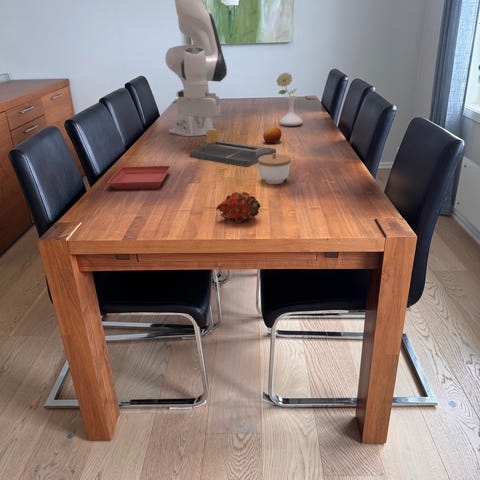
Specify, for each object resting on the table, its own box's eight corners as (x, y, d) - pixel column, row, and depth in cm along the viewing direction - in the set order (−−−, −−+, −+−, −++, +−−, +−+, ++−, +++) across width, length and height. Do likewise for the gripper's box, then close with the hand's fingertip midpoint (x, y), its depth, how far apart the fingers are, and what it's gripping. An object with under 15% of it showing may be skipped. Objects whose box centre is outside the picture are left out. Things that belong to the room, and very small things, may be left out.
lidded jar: (281, 188, 150) (281, 159, 146) (252, 183, 155) (251, 155, 151) (295, 178, 158) (296, 151, 154) (267, 174, 163) (267, 148, 159)
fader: (206, 148, 190) (205, 131, 187) (214, 145, 194) (213, 128, 191) (210, 148, 189) (209, 131, 186) (218, 145, 193) (217, 129, 190)
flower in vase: (302, 122, 239) (303, 70, 228) (302, 127, 228) (304, 73, 218) (276, 122, 240) (276, 71, 229) (275, 127, 230) (275, 74, 219)
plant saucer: (122, 175, 170) (121, 166, 168) (171, 173, 169) (171, 165, 167) (108, 192, 153) (106, 182, 152) (163, 191, 153) (161, 181, 151)
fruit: (284, 141, 198) (274, 125, 196) (268, 151, 201) (259, 134, 199) (286, 137, 205) (277, 121, 203) (271, 146, 208) (262, 130, 206)
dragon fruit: (264, 226, 127) (221, 232, 129) (262, 200, 131) (220, 206, 133) (259, 210, 120) (213, 216, 122) (257, 183, 124) (213, 189, 126)
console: (189, 156, 187) (188, 146, 185) (220, 145, 202) (219, 136, 200) (247, 166, 172) (247, 156, 170) (275, 153, 187) (275, 144, 185)
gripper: (223, 92, 182) (225, 128, 187) (183, 90, 193) (186, 124, 199) (213, 94, 177) (215, 131, 183) (173, 92, 188) (176, 127, 194)
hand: (200, 127), depth 191 cm, fingers closed
